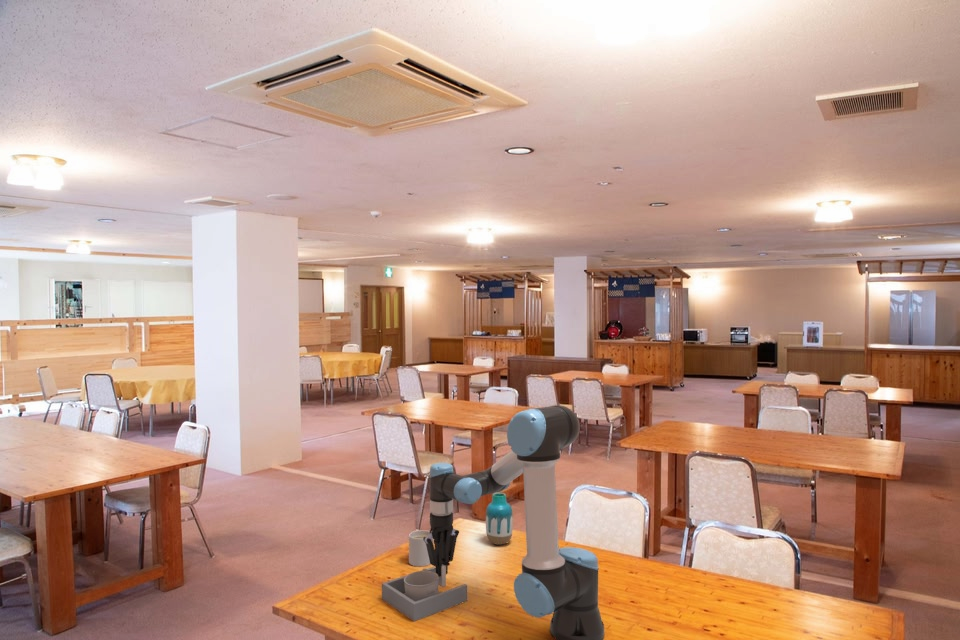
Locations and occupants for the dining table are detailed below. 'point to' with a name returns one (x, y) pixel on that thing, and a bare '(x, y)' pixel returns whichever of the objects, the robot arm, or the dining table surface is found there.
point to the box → (426, 606)
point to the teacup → (421, 584)
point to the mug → (418, 548)
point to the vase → (499, 520)
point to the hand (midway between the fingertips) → (441, 585)
